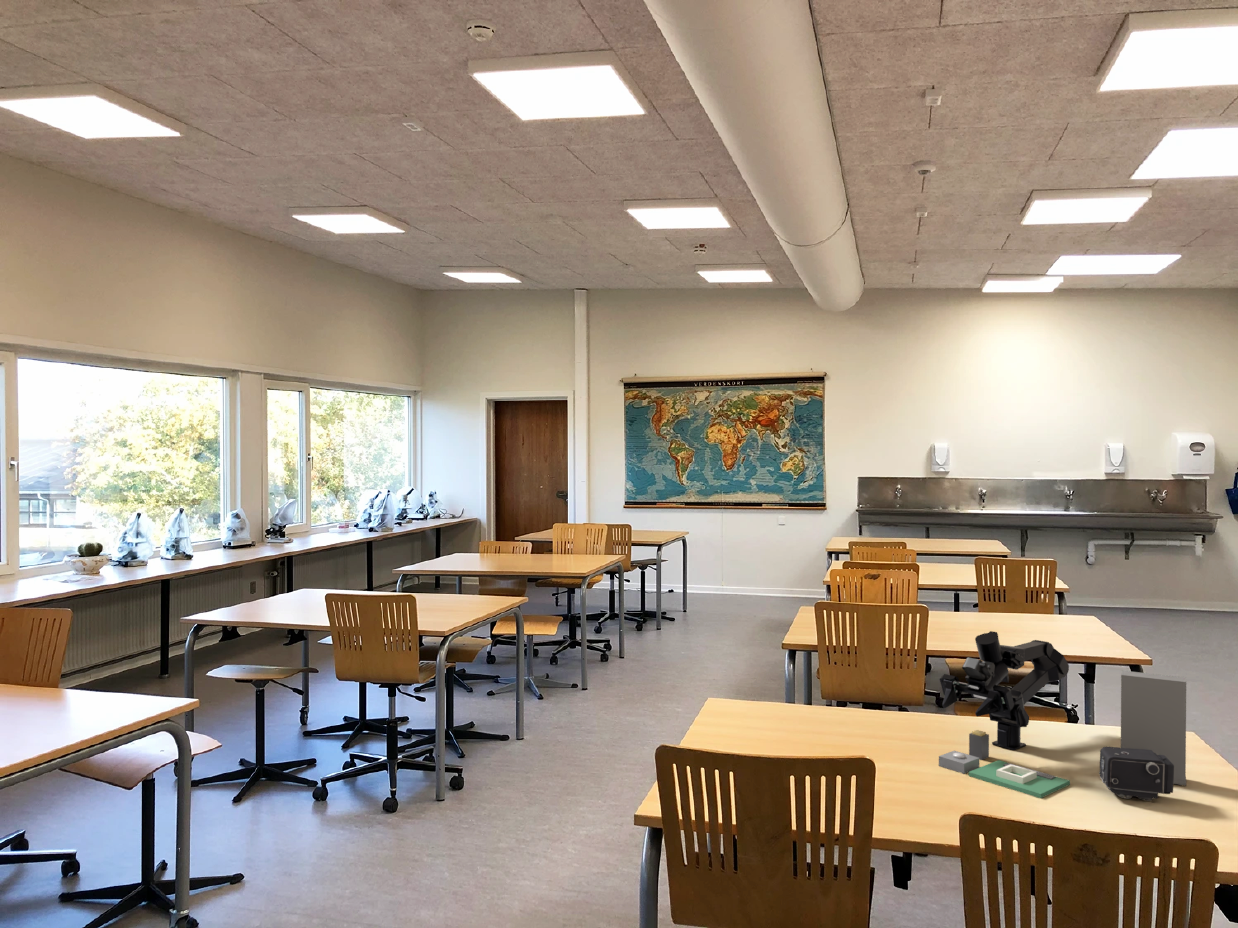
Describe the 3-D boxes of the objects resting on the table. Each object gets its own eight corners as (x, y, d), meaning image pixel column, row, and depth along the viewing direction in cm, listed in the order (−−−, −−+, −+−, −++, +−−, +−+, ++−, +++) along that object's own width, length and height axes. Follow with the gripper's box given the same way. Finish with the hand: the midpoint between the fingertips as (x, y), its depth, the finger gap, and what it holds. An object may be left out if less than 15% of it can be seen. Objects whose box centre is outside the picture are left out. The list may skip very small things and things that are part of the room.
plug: (976, 753, 235) (976, 728, 235) (988, 757, 233) (988, 732, 233) (969, 756, 233) (969, 731, 233) (981, 760, 231) (981, 734, 230)
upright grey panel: (1185, 778, 217) (1186, 676, 217) (1186, 786, 212) (1187, 682, 212) (1120, 768, 224) (1121, 669, 224) (1119, 775, 219) (1120, 674, 219)
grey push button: (954, 759, 230) (954, 748, 230) (979, 767, 225) (979, 755, 225) (938, 765, 226) (938, 753, 226) (964, 773, 221) (964, 761, 221)
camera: (1110, 807, 202) (1181, 807, 199) (1105, 759, 202) (1176, 758, 199) (1097, 790, 212) (1166, 790, 209) (1093, 744, 212) (1161, 743, 209)
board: (998, 763, 228) (998, 753, 228) (1069, 784, 213) (1069, 774, 213) (968, 775, 219) (968, 765, 219) (1040, 798, 205) (1040, 787, 205)
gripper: (950, 644, 241) (919, 676, 232) (1017, 657, 226) (986, 691, 218) (959, 679, 244) (929, 712, 235) (1026, 693, 229) (996, 729, 221)
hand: (959, 710), depth 227 cm, fingers open, 9 cm apart
